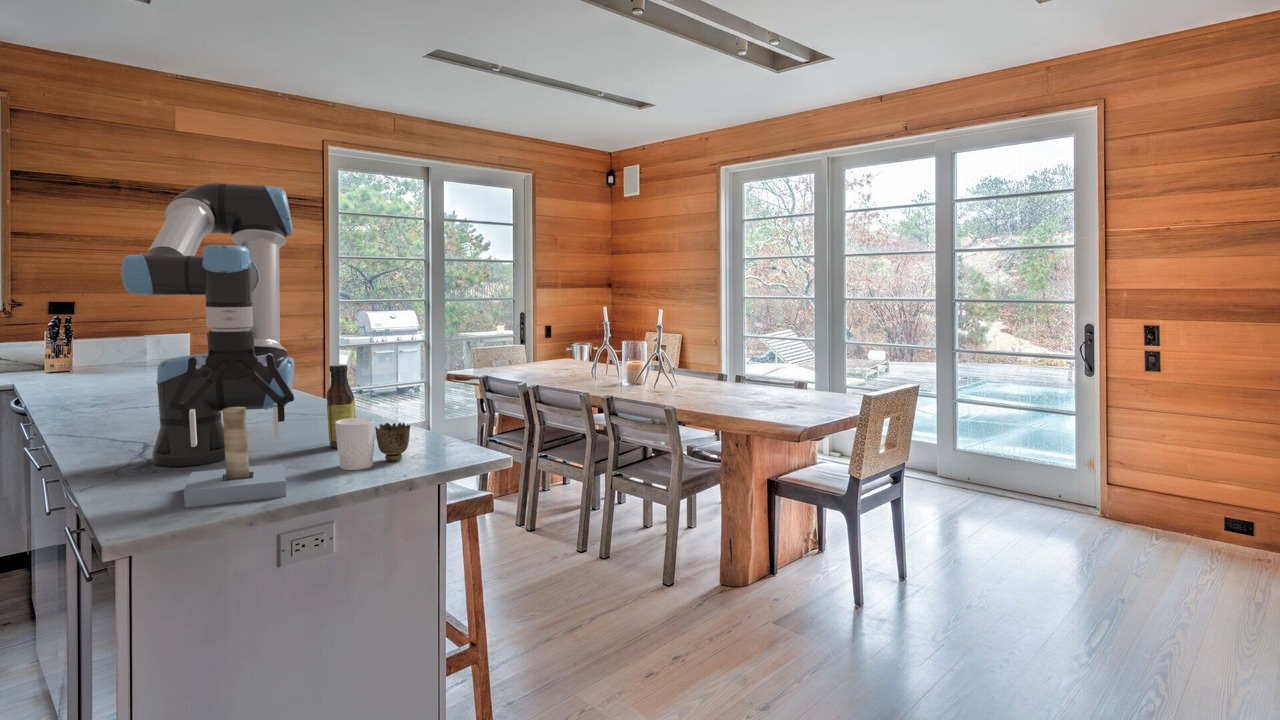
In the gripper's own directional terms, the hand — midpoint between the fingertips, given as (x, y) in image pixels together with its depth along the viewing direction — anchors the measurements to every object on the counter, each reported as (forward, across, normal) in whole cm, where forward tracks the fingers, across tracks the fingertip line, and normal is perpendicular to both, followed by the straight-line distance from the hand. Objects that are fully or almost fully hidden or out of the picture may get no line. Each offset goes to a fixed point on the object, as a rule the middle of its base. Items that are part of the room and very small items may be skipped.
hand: (236, 442), depth 136 cm
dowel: (+10, 0, -1) cm, 10 cm away
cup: (+10, +30, +12) cm, 34 cm away
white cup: (+10, +22, +10) cm, 26 cm away
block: (+10, 0, -1) cm, 10 cm away
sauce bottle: (+10, +21, +32) cm, 40 cm away
